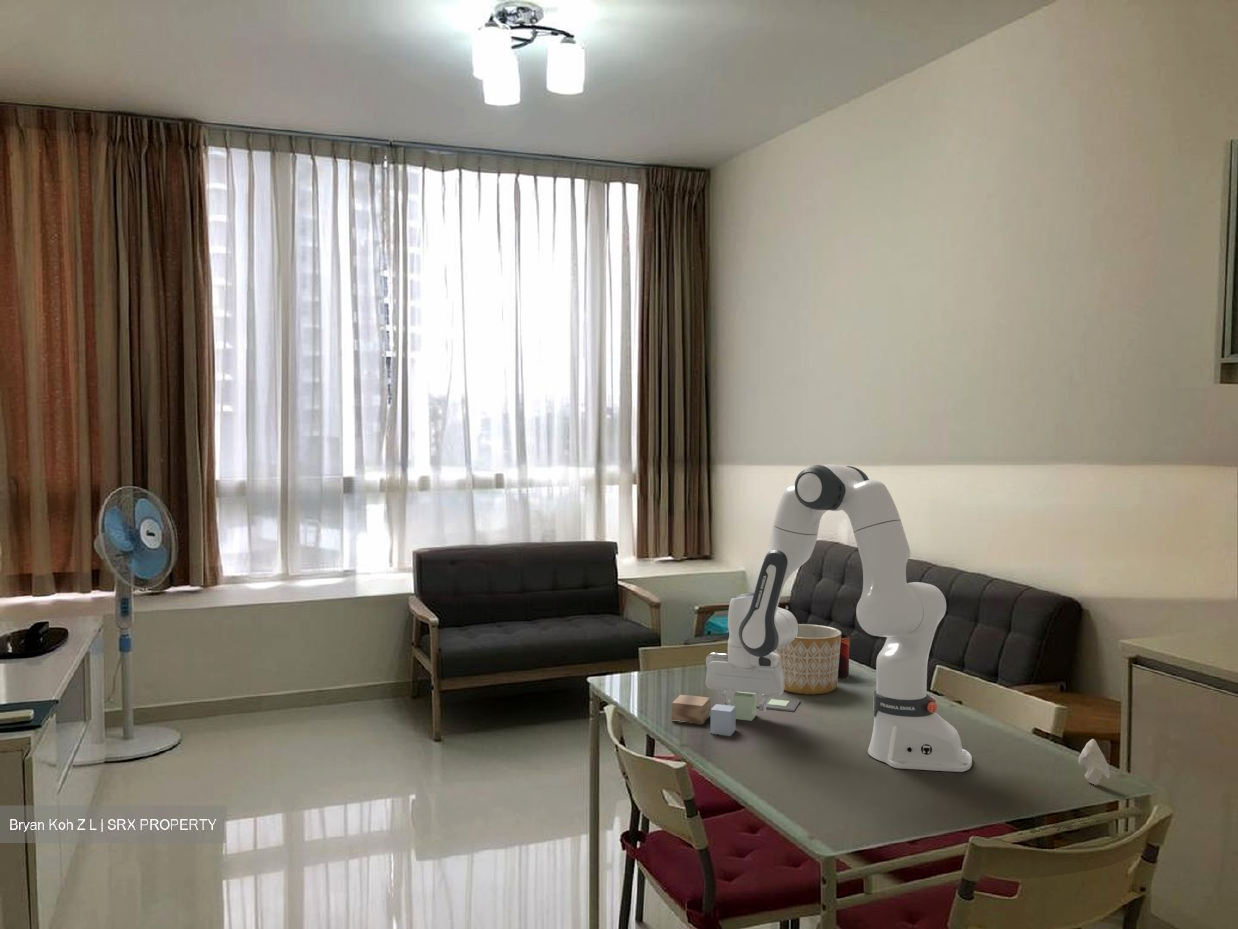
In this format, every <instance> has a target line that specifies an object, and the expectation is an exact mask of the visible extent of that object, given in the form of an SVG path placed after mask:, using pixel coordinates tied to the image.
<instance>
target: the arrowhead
mask: <svg viewBox="0 0 1238 929" xmlns="http://www.w3.org/2000/svg"><path fill="white" fill-rule="evenodd" d="M1077 763H1078V764H1079V766H1080V767H1081V766H1084V767H1085V768H1086V772H1085V774H1084V778H1085V780H1086V781H1087V782H1089V783H1090V784H1091V785H1093V784H1094V785H1093V786H1098V785H1099V784H1100V783H1101V780H1102V779H1103V776H1104V777H1106V779H1108V780H1109V779H1110V777H1111V773H1110V768H1109V764H1108V762H1107V760H1106V758H1105V754H1103V752H1102V751H1101V749H1100V747H1099V745H1098V743H1097V741H1096V739H1094V738H1092V739H1090V740H1089V741H1088V742H1086V744H1085V746H1084V747H1083V749H1082V750H1081V753H1080V755H1079V756H1078V760H1077Z"/></svg>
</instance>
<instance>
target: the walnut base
mask: <svg viewBox="0 0 1238 929" xmlns="http://www.w3.org/2000/svg"><path fill="white" fill-rule="evenodd" d="M710 717H711V697H710V696H709V697H707V696H699V695H697V696H696V695H688V694H679V695H678V696H677V697H676V698H675V699H674V700H673V701H672V702H671V721H672V720H680V721H685V722H692V723H697V724H696V725H700V724H703V725H704V723H705V722H706V721H707V720H708V719H709V718H710ZM707 718H708V719H707ZM706 719H707V720H706ZM705 720H706V721H705Z"/></svg>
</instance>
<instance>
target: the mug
mask: <svg viewBox="0 0 1238 929" xmlns="http://www.w3.org/2000/svg"><path fill="white" fill-rule="evenodd" d="M848 676H849V677H850V636H849V635H848V634H845V633H841V644H840V656H839V667H838V679H837V680H844V679H843V678H845V679H848V678H849V677H848ZM847 677H848V678H847Z"/></svg>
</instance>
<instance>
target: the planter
mask: <svg viewBox="0 0 1238 929" xmlns="http://www.w3.org/2000/svg"><path fill="white" fill-rule="evenodd" d="M798 626H799V631H798V635H797V637H796V639H795V640H794V641H793V642H791V643H790V644H788V645H786V646H783V647H782V648H779V649H777V650H774V651H773V652H774V653H776V654H778V655H780V662H779V665H780V666H781V667H782V669H783V674H784V683H785V689H784V692H788V693H792V694H797V695H810V696H812V695H813V696H815V695H824V694H829V693H832V692H833V691H834V690H835V689H836V688H837V686H838V680H839V679H838V667H839V656H840V644H841V634H842V631H841V630H839V629H838V628H836V627H832V626H827V625H820V624H819V625H818V624H810V623H809V624H808V623H807V624H806V623H801V624H800V623H798Z"/></svg>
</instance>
